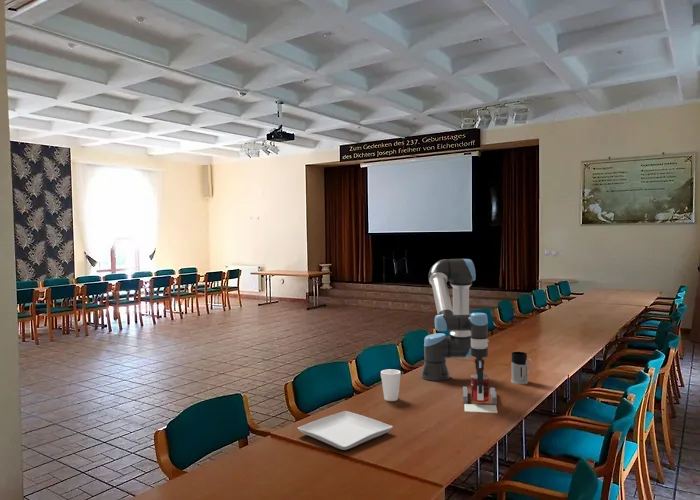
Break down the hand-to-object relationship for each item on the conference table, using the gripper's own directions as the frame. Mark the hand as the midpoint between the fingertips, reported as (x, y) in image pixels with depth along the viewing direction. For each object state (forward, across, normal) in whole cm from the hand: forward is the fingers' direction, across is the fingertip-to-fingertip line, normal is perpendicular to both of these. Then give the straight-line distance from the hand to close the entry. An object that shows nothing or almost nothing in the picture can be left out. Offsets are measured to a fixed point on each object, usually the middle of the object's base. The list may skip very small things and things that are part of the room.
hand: (480, 397), depth 238 cm
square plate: (+4, -45, +53) cm, 70 cm away
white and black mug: (+4, +38, -23) cm, 45 cm away
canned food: (+1, 0, 0) cm, 1 cm away
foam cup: (+4, +2, +41) cm, 41 cm away
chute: (+3, +3, 0) cm, 5 cm away
